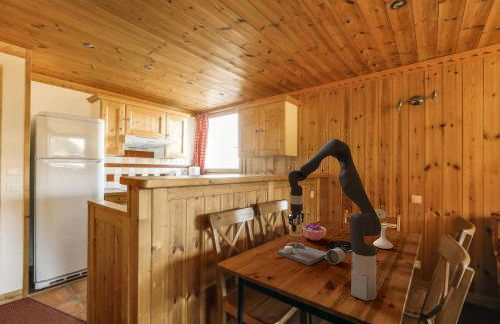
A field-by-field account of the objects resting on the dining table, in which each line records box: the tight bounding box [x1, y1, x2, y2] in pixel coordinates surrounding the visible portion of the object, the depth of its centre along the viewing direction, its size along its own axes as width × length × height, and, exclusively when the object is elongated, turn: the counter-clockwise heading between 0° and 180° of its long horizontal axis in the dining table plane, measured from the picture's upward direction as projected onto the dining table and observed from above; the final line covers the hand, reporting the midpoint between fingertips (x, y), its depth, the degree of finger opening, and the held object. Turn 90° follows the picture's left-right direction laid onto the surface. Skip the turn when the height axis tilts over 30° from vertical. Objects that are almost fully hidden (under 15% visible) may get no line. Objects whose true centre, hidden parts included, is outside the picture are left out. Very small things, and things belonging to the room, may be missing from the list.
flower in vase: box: [372, 208, 394, 250], centre depth 162 cm, size 13×11×25 cm
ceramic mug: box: [324, 247, 346, 265], centre depth 136 cm, size 11×8×8 cm
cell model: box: [302, 222, 327, 241], centre depth 177 cm, size 17×20×11 cm
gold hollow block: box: [289, 222, 303, 237], centre depth 148 cm, size 7×7×6 cm
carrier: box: [277, 242, 327, 266], centre depth 144 cm, size 20×22×6 cm
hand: (296, 230), depth 148 cm, fingers closed on gold hollow block, 4 cm apart
